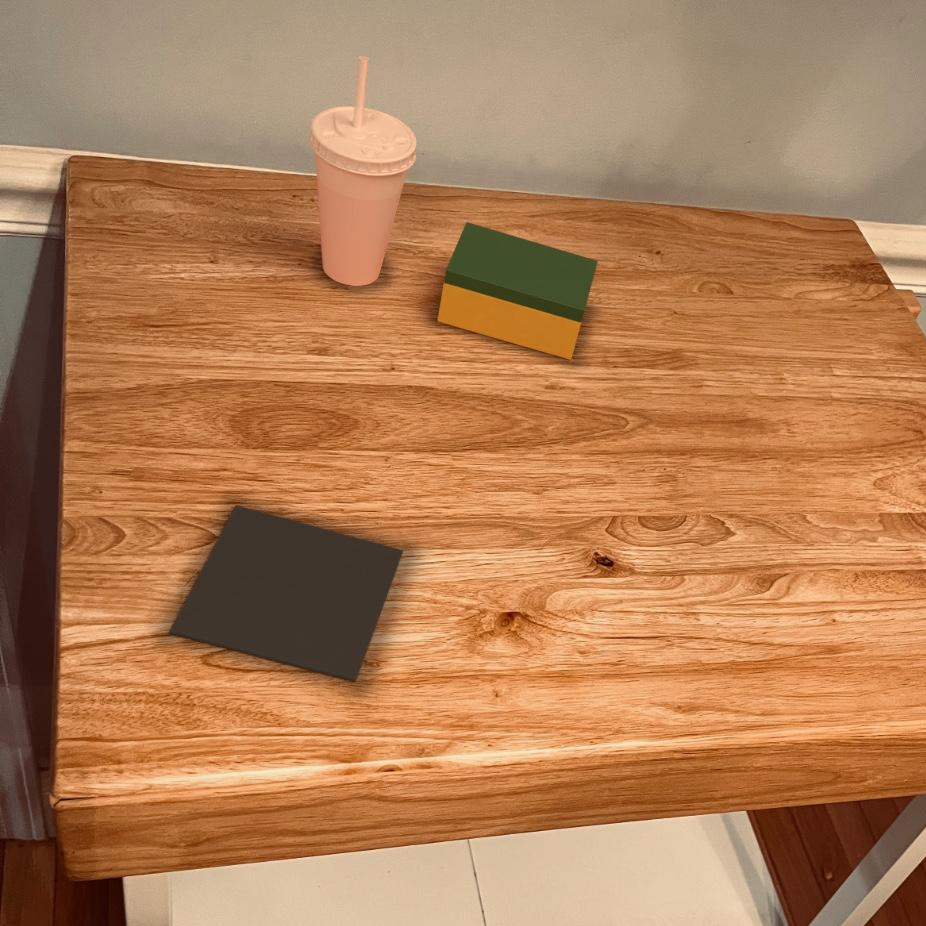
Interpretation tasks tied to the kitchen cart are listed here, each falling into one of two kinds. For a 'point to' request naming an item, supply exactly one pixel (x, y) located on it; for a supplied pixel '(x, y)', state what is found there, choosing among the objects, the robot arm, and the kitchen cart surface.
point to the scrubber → (516, 290)
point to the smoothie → (358, 183)
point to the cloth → (290, 593)
